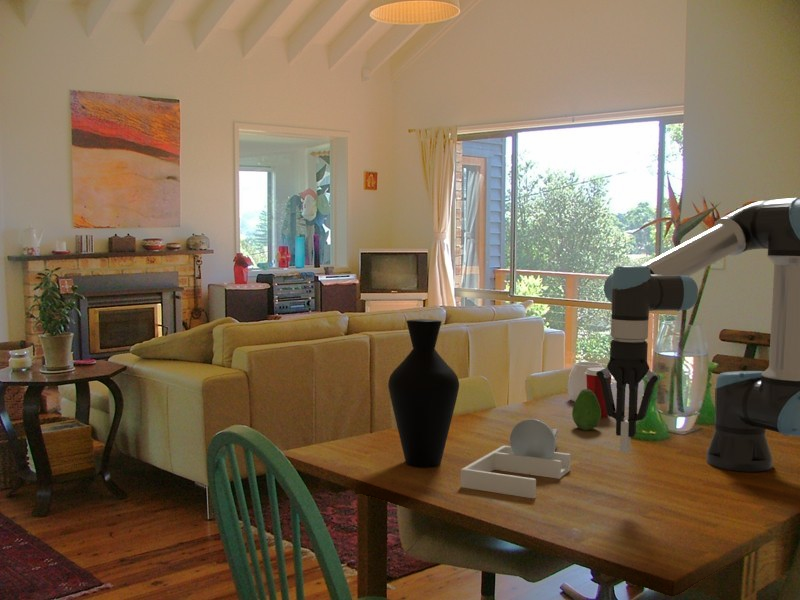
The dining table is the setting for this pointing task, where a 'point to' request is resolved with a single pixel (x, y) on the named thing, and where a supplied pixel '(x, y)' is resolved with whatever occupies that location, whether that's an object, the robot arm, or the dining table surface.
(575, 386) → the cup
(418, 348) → the vase
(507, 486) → the dish rack
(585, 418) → the fruit
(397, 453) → the dining table surface
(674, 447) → the dining table surface
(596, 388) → the coffee cup
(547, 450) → the grey plate
